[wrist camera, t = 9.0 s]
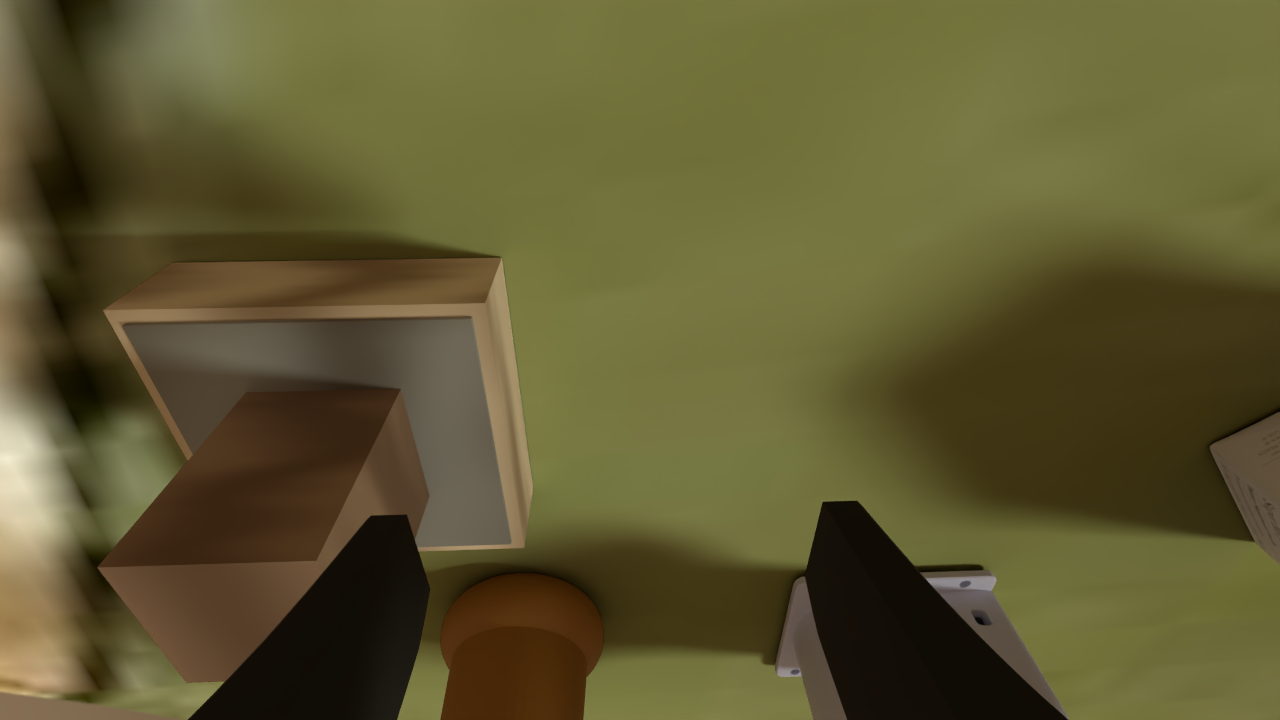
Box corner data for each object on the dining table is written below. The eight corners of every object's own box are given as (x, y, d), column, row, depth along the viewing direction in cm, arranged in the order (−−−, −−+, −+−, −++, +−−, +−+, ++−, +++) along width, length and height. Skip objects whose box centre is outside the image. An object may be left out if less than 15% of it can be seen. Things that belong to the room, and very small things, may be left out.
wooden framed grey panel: (501, 257, 19) (483, 305, 16) (532, 487, 24) (523, 551, 22) (172, 262, 18) (98, 312, 16) (280, 494, 24) (239, 560, 21)
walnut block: (400, 389, 17) (316, 561, 12) (429, 496, 20) (368, 675, 15) (245, 392, 17) (97, 567, 12) (293, 499, 20) (186, 682, 15)
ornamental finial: (474, 664, 31) (425, 575, 27) (615, 647, 31) (587, 554, 27) (437, 855, 24) (364, 775, 20) (617, 835, 24) (580, 750, 20)
